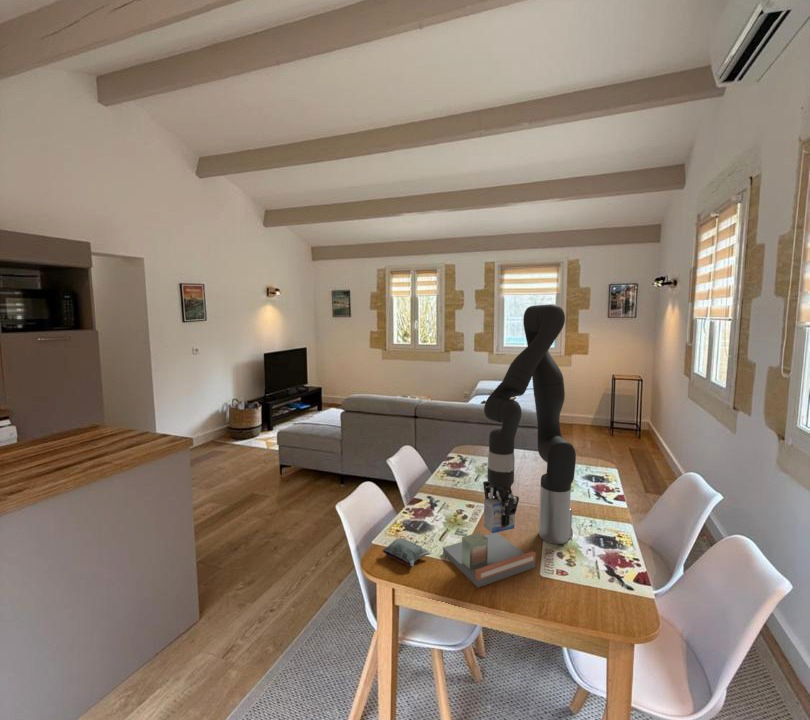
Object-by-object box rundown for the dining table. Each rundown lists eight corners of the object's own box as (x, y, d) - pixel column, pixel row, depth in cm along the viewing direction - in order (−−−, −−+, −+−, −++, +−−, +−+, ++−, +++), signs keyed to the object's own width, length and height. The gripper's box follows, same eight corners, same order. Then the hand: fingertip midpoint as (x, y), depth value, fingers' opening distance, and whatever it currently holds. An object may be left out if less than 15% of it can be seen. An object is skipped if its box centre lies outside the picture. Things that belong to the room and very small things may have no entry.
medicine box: (491, 533, 125) (492, 505, 124) (483, 526, 129) (483, 498, 128) (514, 528, 128) (515, 500, 127) (506, 521, 132) (507, 494, 131)
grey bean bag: (401, 545, 138) (400, 530, 138) (430, 559, 131) (430, 544, 130) (381, 557, 132) (381, 542, 131) (411, 573, 124) (411, 557, 123)
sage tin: (479, 557, 127) (479, 532, 126) (487, 565, 124) (488, 539, 123) (461, 563, 125) (462, 537, 124) (470, 571, 121) (470, 544, 120)
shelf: (496, 537, 142) (496, 525, 141) (535, 567, 126) (535, 553, 125) (443, 553, 133) (443, 540, 133) (478, 587, 117) (478, 572, 117)
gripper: (475, 460, 131) (474, 514, 133) (506, 477, 118) (504, 536, 120) (496, 456, 134) (494, 509, 136) (528, 472, 121) (525, 530, 123)
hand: (499, 521), depth 128 cm, fingers closed on medicine box, 4 cm apart
